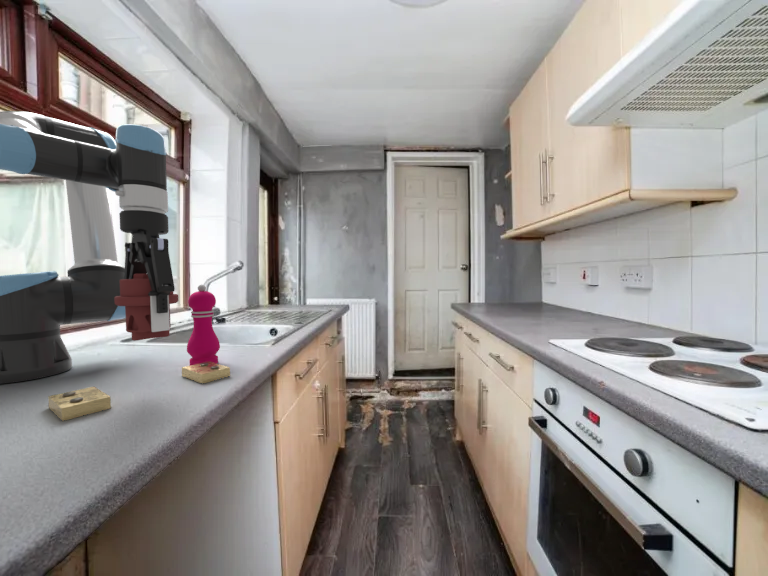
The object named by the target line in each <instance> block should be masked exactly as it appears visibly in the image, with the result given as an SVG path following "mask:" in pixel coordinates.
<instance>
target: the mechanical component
mask: <svg viewBox="0 0 768 576" xmlns="http://www.w3.org/2000/svg"><path fill="white" fill-rule="evenodd" d="M133 277H134V278H133V279H121V280H120V296H116V297H114V300H115V304H116V305H117V306H125V314H126V318H125V331H126V332H127V333H130V334H131V340H132V341H134V342H135V341H143V340H148V339H155V338H166V337H169V336H170V335H171V333H170V330H166V331H158V332H152V331H151V306H150V296H149V295H148V293H149V292H150V291H152V289H151V286H150V282H149V278H148V275H147V274H134V275H133ZM178 302H179V294H178V293H174V291H173V292H170V295H169V321H170V322H171V306H170V305H171V304H177V303H178ZM170 328H171V324H170Z"/></svg>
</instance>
